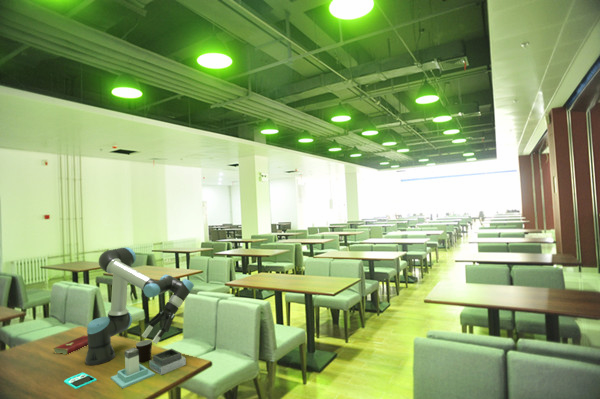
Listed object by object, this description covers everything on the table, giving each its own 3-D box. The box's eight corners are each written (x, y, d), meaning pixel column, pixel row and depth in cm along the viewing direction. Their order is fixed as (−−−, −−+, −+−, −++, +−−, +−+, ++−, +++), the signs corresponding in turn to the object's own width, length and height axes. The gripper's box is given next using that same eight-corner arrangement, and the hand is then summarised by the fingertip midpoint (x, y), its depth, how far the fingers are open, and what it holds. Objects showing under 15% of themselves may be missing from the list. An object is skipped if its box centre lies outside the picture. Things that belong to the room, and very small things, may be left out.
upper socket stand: (149, 367, 188) (148, 355, 188) (173, 358, 198) (172, 347, 198) (161, 375, 178) (160, 362, 178) (185, 364, 188) (185, 352, 189)
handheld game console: (83, 374, 187) (83, 371, 187) (97, 381, 177) (97, 378, 177) (62, 382, 178) (62, 380, 178) (76, 390, 169) (76, 387, 169)
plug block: (125, 375, 178) (124, 350, 178) (135, 371, 182) (134, 347, 182) (129, 378, 175) (128, 352, 175) (139, 374, 178) (138, 349, 179)
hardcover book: (97, 342, 233) (96, 336, 233) (67, 355, 213) (66, 349, 213) (84, 341, 237) (83, 334, 237) (53, 354, 217) (53, 347, 217)
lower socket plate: (110, 378, 178) (110, 372, 178) (141, 366, 189) (141, 360, 190) (122, 388, 167) (122, 381, 167) (154, 375, 179) (154, 368, 179)
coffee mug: (146, 363, 193) (145, 346, 193) (133, 363, 194) (132, 345, 195) (159, 354, 204) (158, 338, 204) (146, 354, 206) (145, 337, 206)
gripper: (189, 311, 190) (164, 348, 178) (168, 304, 207) (144, 338, 195) (179, 304, 186) (153, 341, 175) (158, 298, 203) (134, 331, 191)
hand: (148, 339), depth 185 cm, fingers open, 13 cm apart
